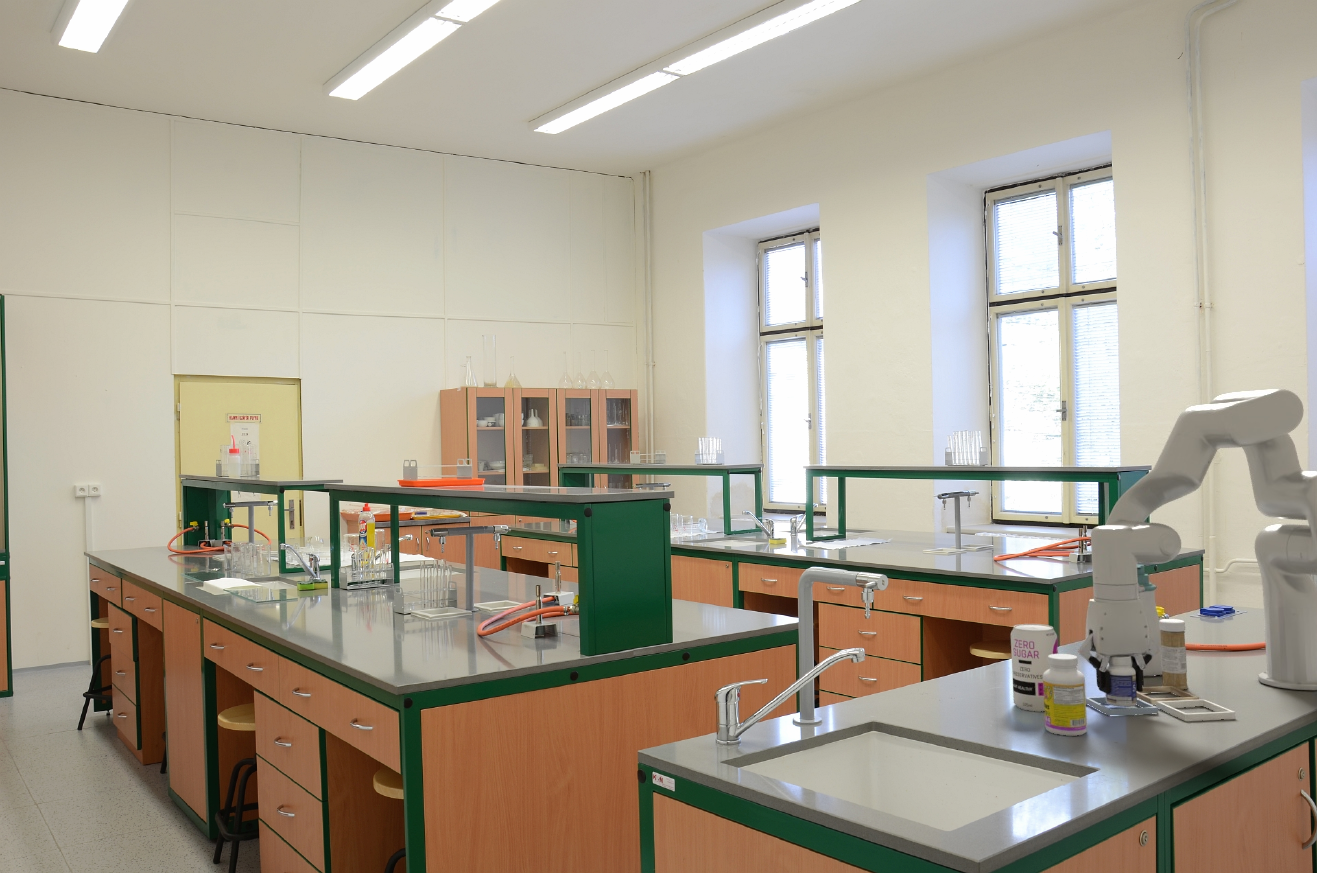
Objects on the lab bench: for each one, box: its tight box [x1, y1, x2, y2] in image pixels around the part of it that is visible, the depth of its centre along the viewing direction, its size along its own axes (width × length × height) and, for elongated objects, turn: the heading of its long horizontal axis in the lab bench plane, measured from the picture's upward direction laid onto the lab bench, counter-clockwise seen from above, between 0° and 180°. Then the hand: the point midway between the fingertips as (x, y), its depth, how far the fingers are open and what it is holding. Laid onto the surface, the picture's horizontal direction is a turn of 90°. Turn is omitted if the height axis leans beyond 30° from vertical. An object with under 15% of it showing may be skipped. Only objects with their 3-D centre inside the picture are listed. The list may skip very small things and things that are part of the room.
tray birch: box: [1137, 685, 1200, 705], centre depth 183 cm, size 9×9×1 cm
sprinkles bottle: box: [1159, 618, 1189, 691], centre depth 191 cm, size 5×5×14 cm
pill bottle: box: [1104, 655, 1137, 708], centre depth 177 cm, size 5×5×9 cm
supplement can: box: [1010, 623, 1059, 713], centre depth 180 cm, size 8×8×15 cm
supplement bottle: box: [1043, 653, 1088, 737], centre depth 164 cm, size 7×7×13 cm
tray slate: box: [1086, 696, 1159, 717], centre depth 177 cm, size 9×9×1 cm
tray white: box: [1156, 698, 1236, 722], centre depth 172 cm, size 9×9×1 cm
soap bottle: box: [1130, 563, 1163, 677], centre depth 205 cm, size 10×10×23 cm
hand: (1120, 690), depth 177 cm, fingers closed on pill bottle, 5 cm apart
